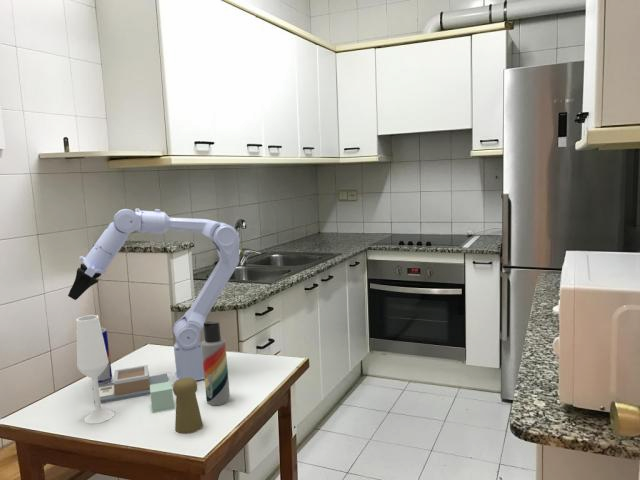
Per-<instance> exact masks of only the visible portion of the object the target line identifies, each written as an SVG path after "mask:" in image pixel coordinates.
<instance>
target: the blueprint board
mask: <svg viewBox="0 0 640 480" xmlns="http://www.w3.org/2000/svg"><path fill="white" fill-rule="evenodd" d="M168 376H169V375H168V373H162V374H156V375H150V373H149V365H148V364H144V365H139V366H132V367H126V368H121V369H120V368H119V369H115V370H114V376H113V382H109V383H108V384H102V385H98V386H99V394H100V402H101V404H105V403H112V402H116V401H121V400H127V399H133V398H139V397H145V396H151V394H150V385H152V384H158V383H164V382H169V377H168ZM93 403H95V400H94V402H93Z"/></svg>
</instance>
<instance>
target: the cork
mask: <svg viewBox="0 0 640 480" xmlns="http://www.w3.org/2000/svg"><path fill="white" fill-rule="evenodd" d="M197 391H198V382H197V380H196V381H195V380H194V379H193V378H181V379H179V380H177V381H176V380H175V381H174V383H173V385H172V392H173V395H174V396H175V397H176V399H175V400H176V401H175V422H174V423H175V424H174V431H175V433H178V434H182V435H188V434H193V433H196V432H198V431H199V430H201V429H202V428H203V426H204V423H203V419H202V415H201V411H200V407H199V402H198V399H197V394H196V393H197Z"/></svg>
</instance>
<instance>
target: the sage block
mask: <svg viewBox="0 0 640 480" xmlns="http://www.w3.org/2000/svg"><path fill="white" fill-rule="evenodd" d="M150 394H151V395H150V402H151V410H152V411H151V412H152V413H157V412H161V411H166V410H173V409H175V403H174V392H173V385H172V381H171V380H170V381H168V382H164V383H158V384H152V385H150Z"/></svg>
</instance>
